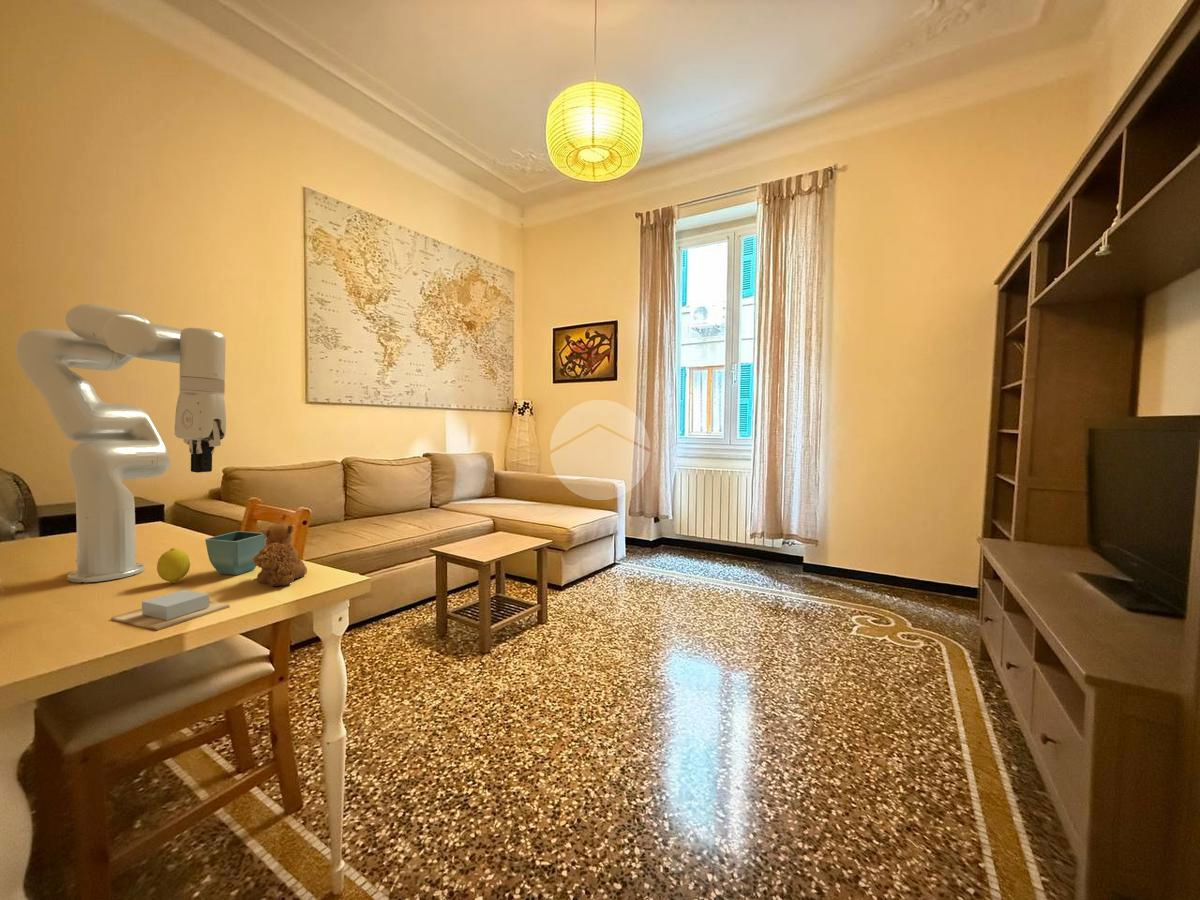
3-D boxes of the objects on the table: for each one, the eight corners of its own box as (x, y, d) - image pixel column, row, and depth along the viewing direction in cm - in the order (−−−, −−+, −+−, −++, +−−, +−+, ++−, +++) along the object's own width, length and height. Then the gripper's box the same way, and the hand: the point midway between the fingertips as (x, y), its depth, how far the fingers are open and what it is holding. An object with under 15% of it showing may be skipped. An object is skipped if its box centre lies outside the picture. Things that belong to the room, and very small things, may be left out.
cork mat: (111, 619, 88) (111, 617, 88) (185, 597, 99) (185, 596, 99) (157, 630, 83) (157, 628, 83) (229, 606, 95) (229, 604, 95)
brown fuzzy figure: (307, 570, 119) (307, 518, 119) (303, 588, 107) (303, 529, 106) (259, 575, 115) (258, 521, 114) (248, 594, 102) (248, 533, 102)
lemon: (170, 588, 104) (170, 552, 104) (150, 585, 106) (150, 550, 105) (196, 580, 110) (196, 546, 110) (177, 578, 111) (176, 544, 111)
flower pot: (235, 579, 112) (235, 541, 111) (204, 576, 113) (203, 538, 113) (268, 568, 120) (267, 533, 120) (238, 565, 122) (237, 530, 122)
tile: (141, 601, 89) (166, 606, 86) (184, 589, 95) (209, 594, 93) (142, 615, 89) (166, 621, 86) (185, 602, 95) (209, 607, 93)
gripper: (160, 384, 102) (159, 470, 103) (204, 386, 97) (203, 476, 98) (200, 388, 109) (199, 467, 110) (243, 389, 104) (242, 473, 105)
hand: (201, 471), depth 104 cm, fingers closed
